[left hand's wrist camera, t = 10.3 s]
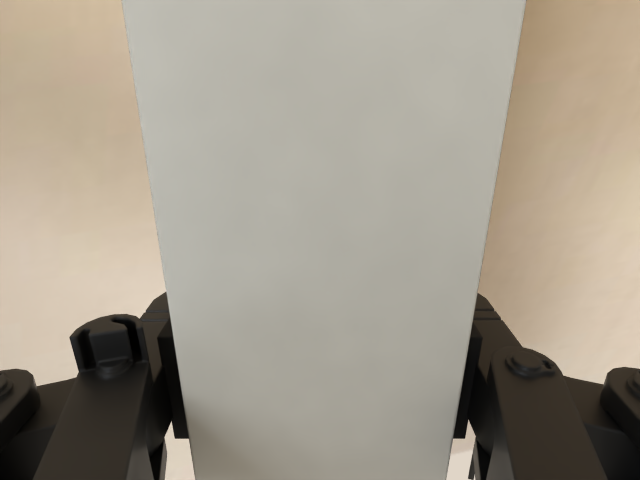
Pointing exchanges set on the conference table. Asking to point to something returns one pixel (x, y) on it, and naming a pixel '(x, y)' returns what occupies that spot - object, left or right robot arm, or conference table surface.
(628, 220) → the conference table surface
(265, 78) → the bar
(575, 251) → the conference table surface
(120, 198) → the conference table surface
